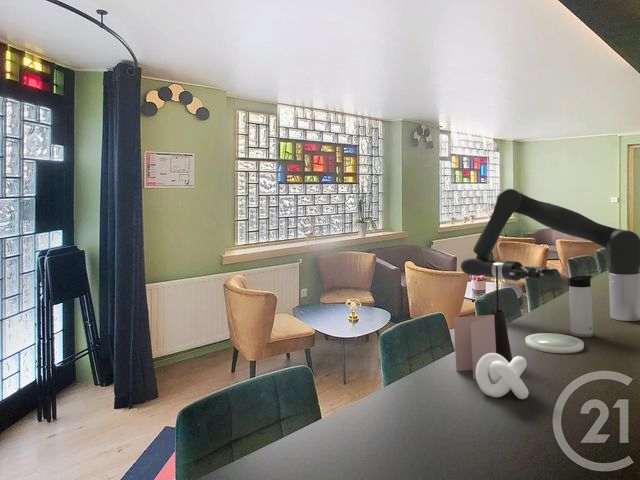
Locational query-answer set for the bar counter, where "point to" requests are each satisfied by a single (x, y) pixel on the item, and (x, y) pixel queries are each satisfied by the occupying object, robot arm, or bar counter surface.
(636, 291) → the robot arm
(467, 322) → the greeting card
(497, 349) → the butter churn
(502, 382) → the white decorative knot
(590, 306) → the travel mug
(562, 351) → the plate
